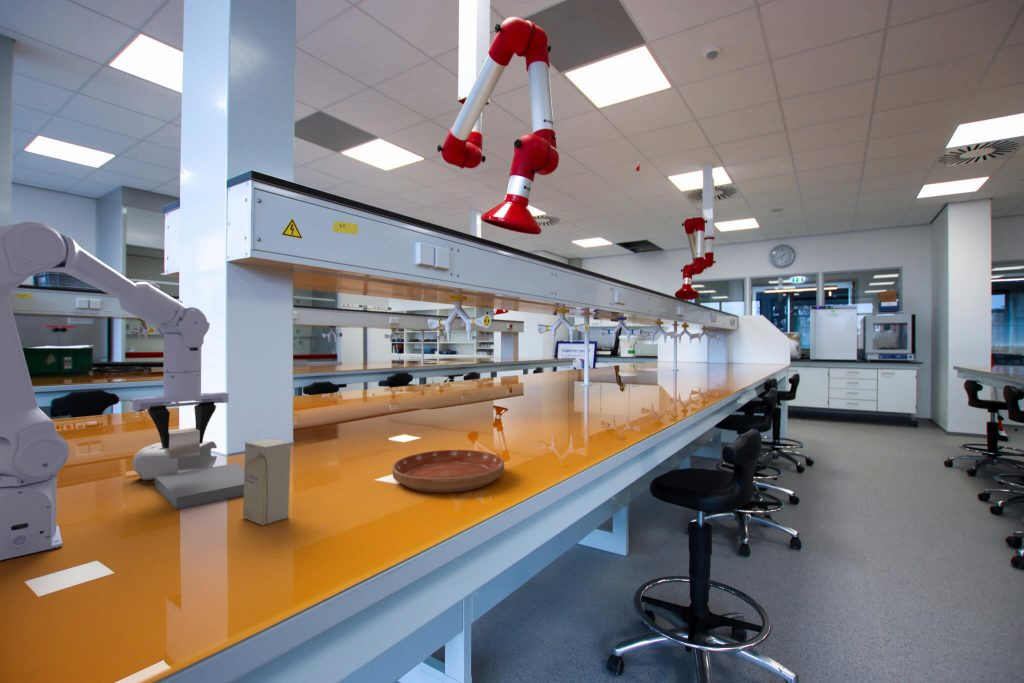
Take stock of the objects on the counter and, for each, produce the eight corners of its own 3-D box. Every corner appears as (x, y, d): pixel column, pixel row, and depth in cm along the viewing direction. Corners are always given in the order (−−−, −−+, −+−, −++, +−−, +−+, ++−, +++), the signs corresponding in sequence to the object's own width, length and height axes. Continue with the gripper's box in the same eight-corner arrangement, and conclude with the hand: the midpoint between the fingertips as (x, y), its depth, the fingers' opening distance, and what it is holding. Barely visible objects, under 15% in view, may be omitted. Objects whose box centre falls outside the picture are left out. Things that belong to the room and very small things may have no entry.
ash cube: (199, 454, 86) (199, 430, 86) (170, 459, 82) (170, 433, 82) (193, 450, 89) (193, 427, 89) (164, 455, 85) (164, 430, 85)
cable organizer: (122, 452, 91) (189, 450, 92) (160, 439, 103) (219, 437, 105) (122, 486, 91) (189, 483, 92) (160, 469, 103) (219, 467, 105)
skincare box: (242, 518, 73) (242, 441, 74) (269, 509, 77) (269, 437, 77) (263, 526, 70) (264, 446, 70) (291, 517, 74) (291, 441, 74)
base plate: (266, 490, 88) (266, 479, 88) (176, 509, 77) (176, 497, 77) (235, 472, 100) (235, 463, 100) (154, 486, 90) (155, 476, 90)
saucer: (458, 505, 80) (458, 484, 80) (367, 484, 92) (367, 466, 92) (524, 474, 99) (524, 457, 100) (442, 460, 111) (442, 445, 111)
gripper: (220, 369, 94) (220, 436, 94) (128, 372, 83) (128, 448, 83) (231, 370, 89) (231, 441, 89) (135, 374, 78) (135, 454, 78)
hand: (182, 445), depth 85 cm, fingers closed on ash cube, 4 cm apart
